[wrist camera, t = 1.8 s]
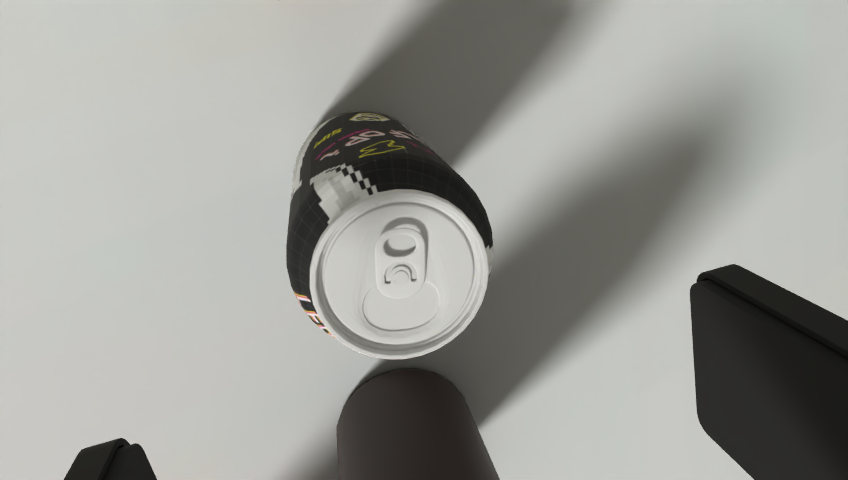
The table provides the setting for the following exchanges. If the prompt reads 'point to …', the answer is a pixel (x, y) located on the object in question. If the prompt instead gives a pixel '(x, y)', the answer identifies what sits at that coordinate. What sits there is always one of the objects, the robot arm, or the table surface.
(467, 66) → the table surface
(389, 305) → the beverage can
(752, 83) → the table surface
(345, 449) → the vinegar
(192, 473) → the table surface
